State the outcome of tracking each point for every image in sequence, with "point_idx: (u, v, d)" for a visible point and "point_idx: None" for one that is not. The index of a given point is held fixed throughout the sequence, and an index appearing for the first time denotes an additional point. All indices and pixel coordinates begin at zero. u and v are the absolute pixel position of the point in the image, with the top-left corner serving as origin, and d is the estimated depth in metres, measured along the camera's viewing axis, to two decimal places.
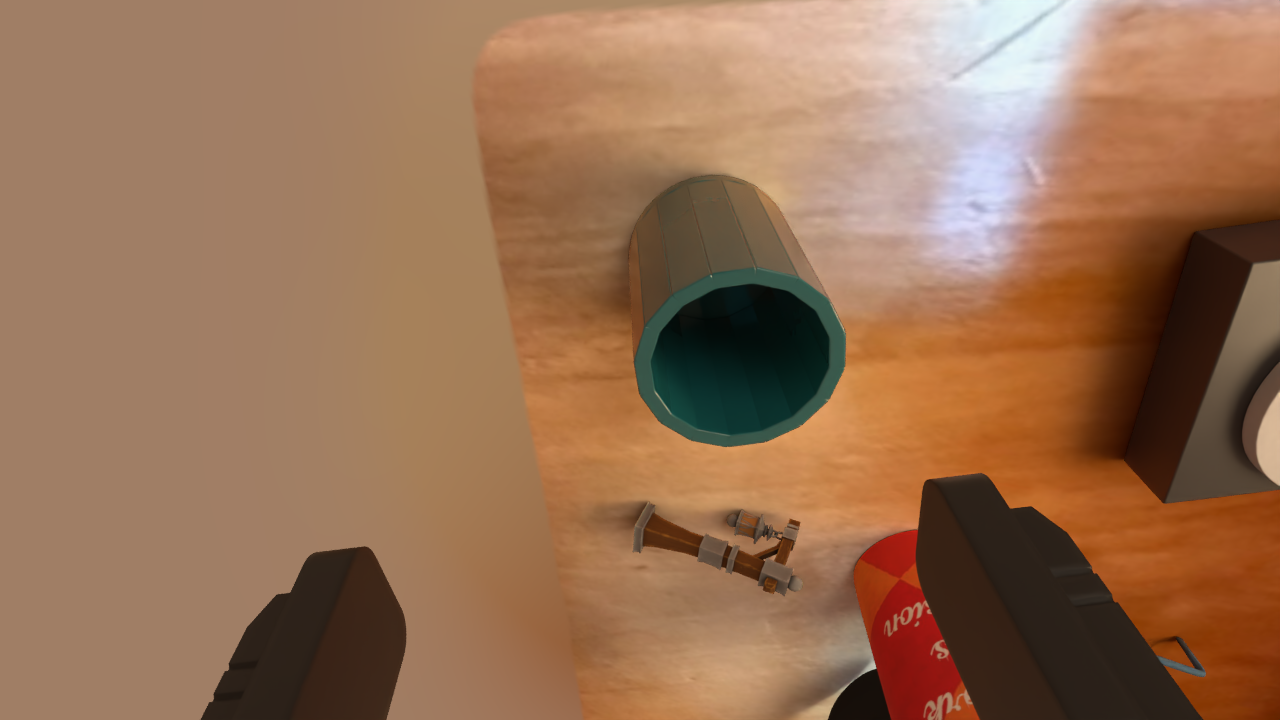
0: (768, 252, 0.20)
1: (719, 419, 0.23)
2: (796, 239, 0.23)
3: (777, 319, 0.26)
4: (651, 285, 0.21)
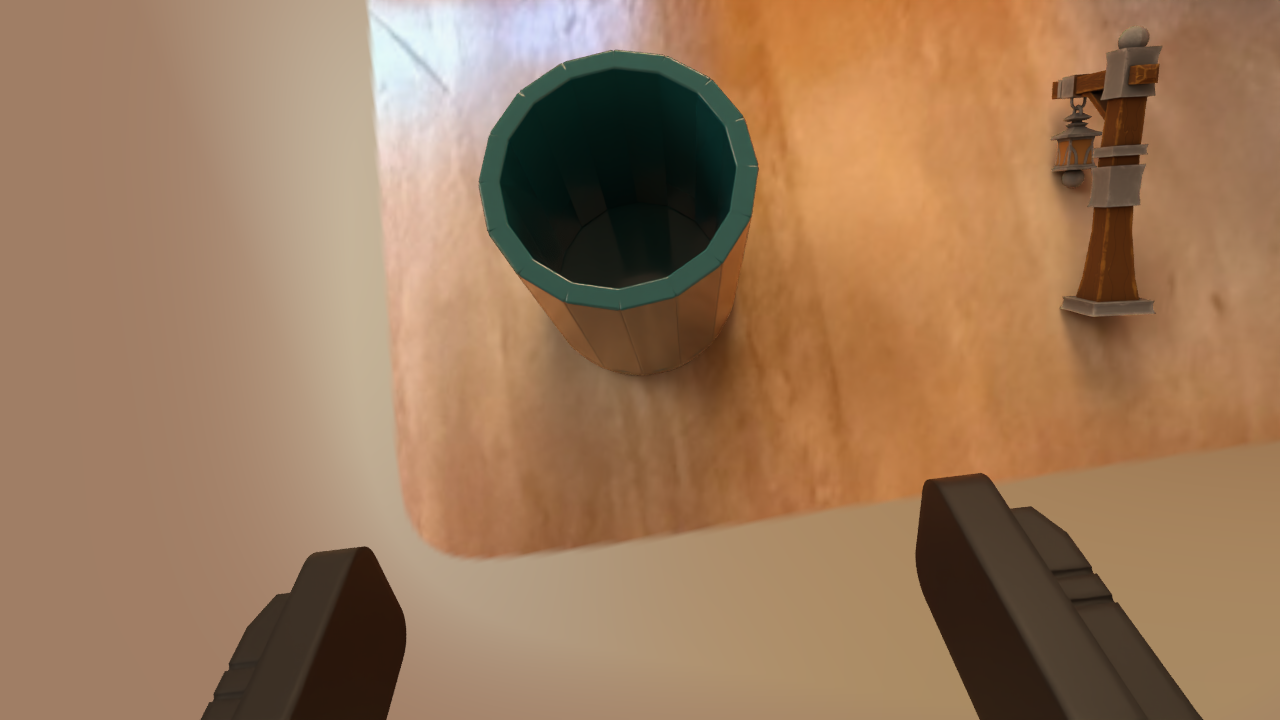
0: None
1: None
2: None
3: (672, 177, 0.21)
4: (559, 313, 0.17)
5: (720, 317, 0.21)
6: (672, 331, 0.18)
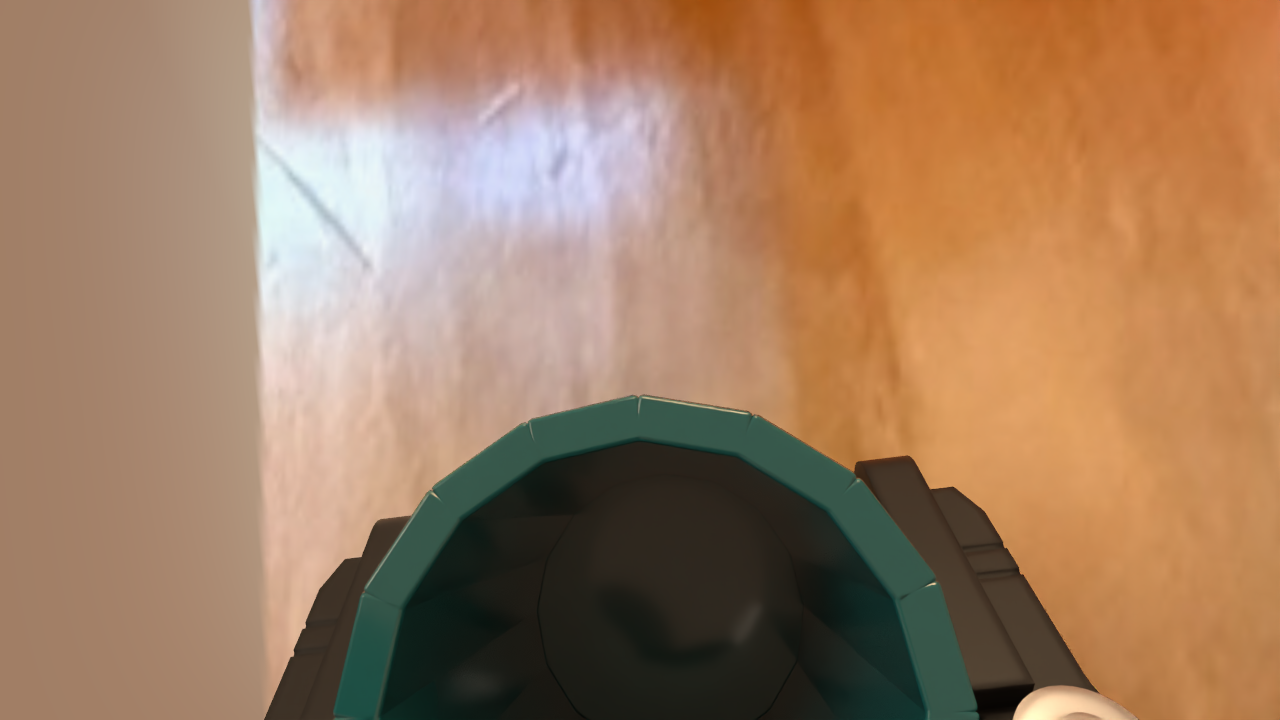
0: None
1: (900, 715, 0.07)
2: None
3: (731, 485, 0.12)
4: None
5: None
6: None
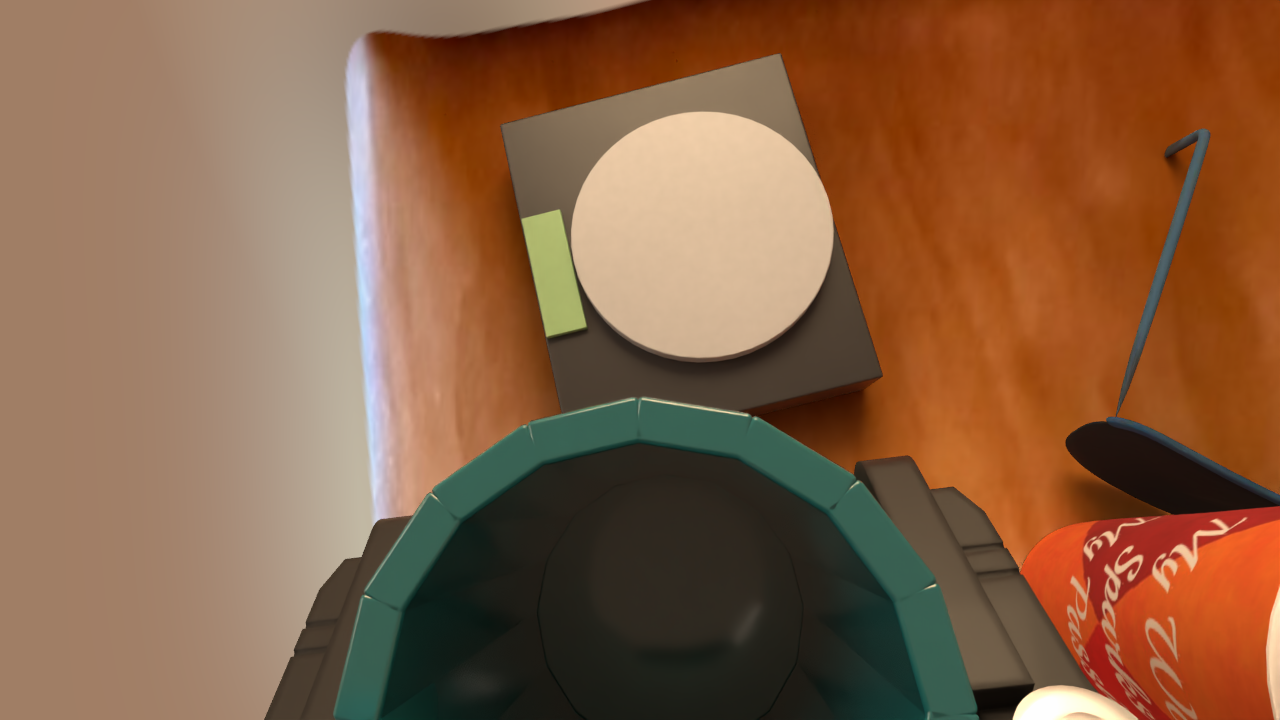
0: None
1: (900, 718, 0.07)
2: None
3: (731, 486, 0.12)
4: None
5: None
6: None
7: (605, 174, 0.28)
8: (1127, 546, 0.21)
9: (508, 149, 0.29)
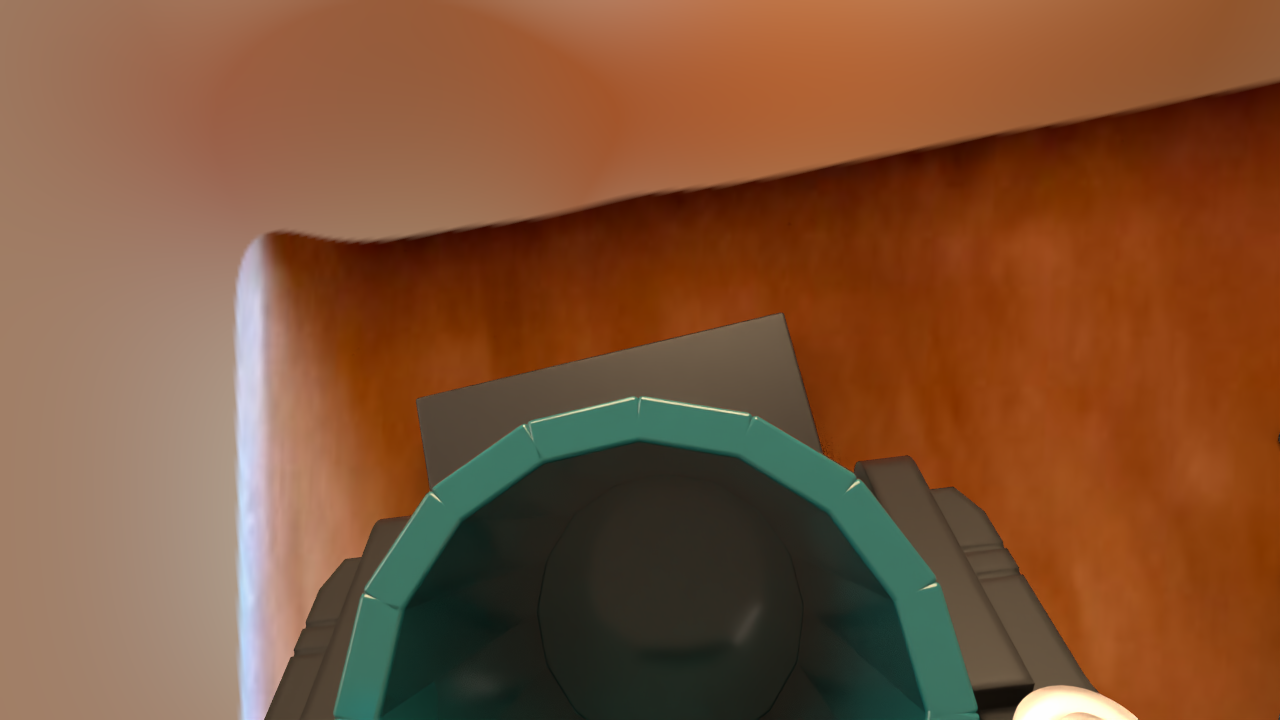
0: None
1: (900, 716, 0.07)
2: None
3: (730, 485, 0.12)
4: None
5: None
6: None
7: None
8: None
9: (425, 435, 0.22)
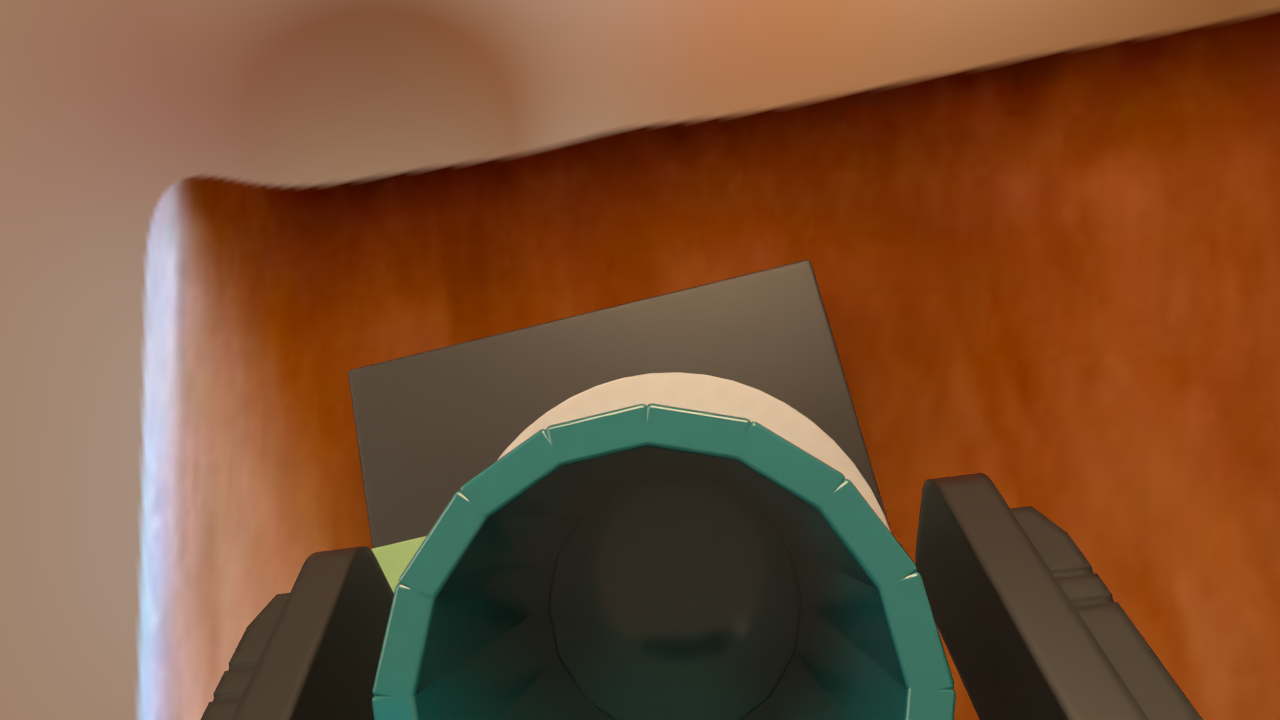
0: None
1: (885, 694, 0.08)
2: None
3: (732, 485, 0.13)
4: None
5: None
6: None
7: None
8: None
9: (358, 416, 0.18)
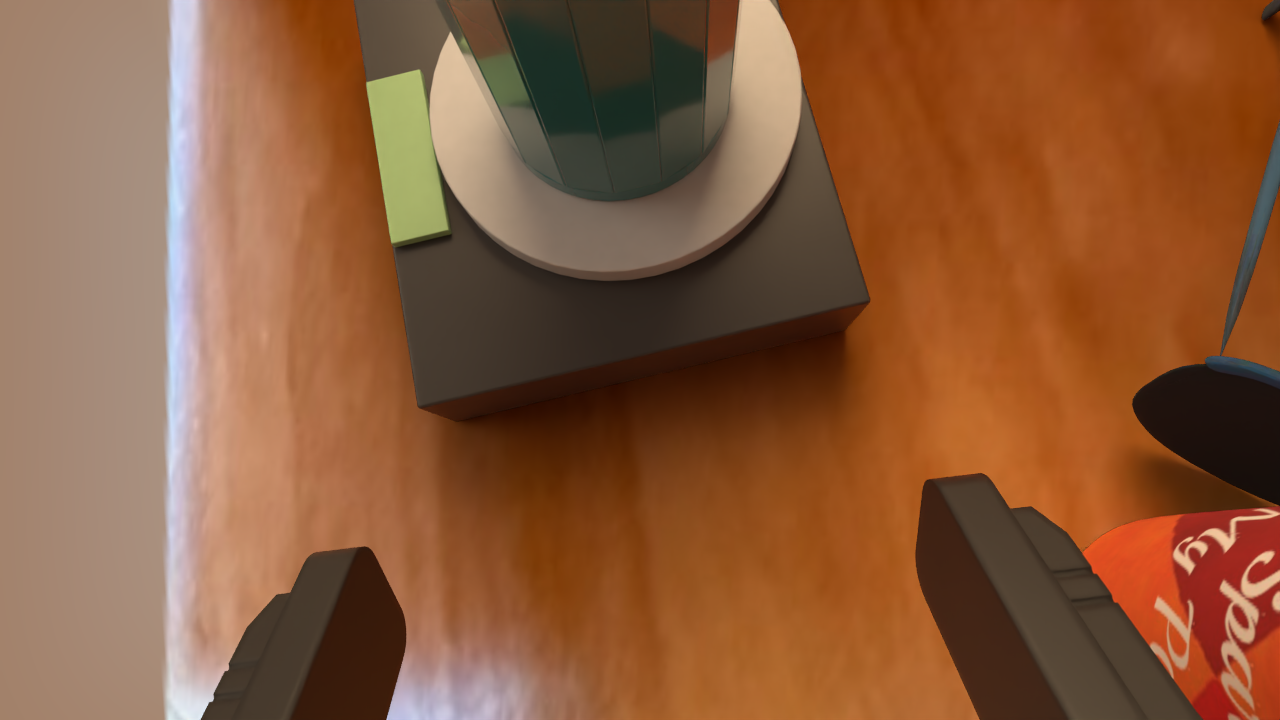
0: None
1: None
2: None
3: None
4: (486, 31, 0.12)
5: (712, 101, 0.16)
6: (645, 76, 0.13)
7: None
8: (1261, 552, 0.13)
9: None
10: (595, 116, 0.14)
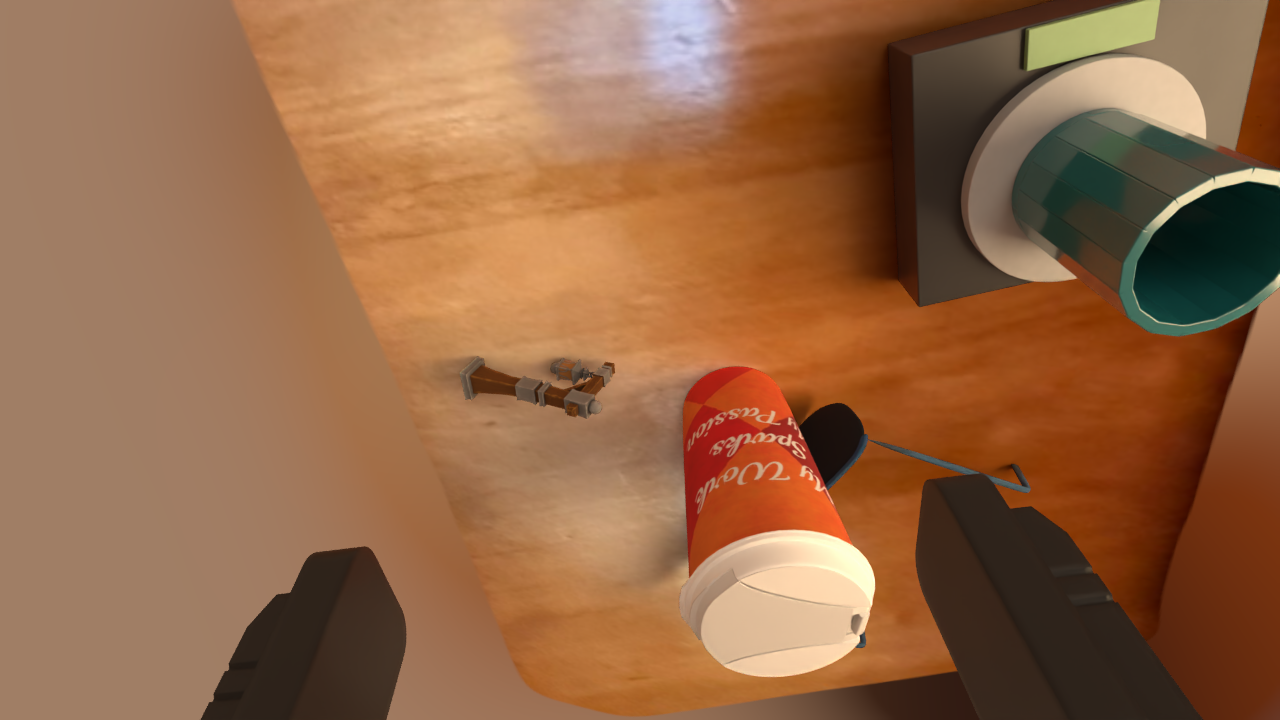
0: (1241, 157, 0.24)
1: (1166, 314, 0.26)
2: None
3: (1171, 231, 0.29)
4: (1122, 198, 0.25)
5: None
6: (1073, 255, 0.27)
7: (1172, 90, 0.29)
8: (803, 447, 0.35)
9: None
10: (1063, 219, 0.27)
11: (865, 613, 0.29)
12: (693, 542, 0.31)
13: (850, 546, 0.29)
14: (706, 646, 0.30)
